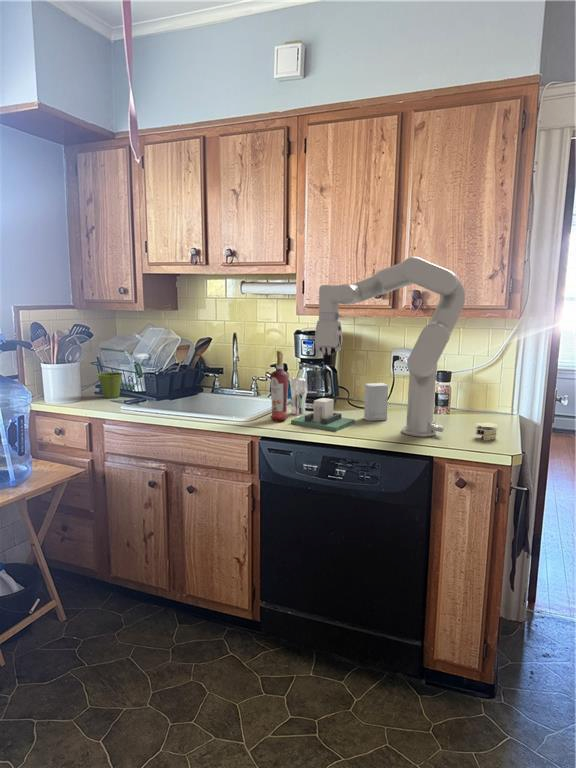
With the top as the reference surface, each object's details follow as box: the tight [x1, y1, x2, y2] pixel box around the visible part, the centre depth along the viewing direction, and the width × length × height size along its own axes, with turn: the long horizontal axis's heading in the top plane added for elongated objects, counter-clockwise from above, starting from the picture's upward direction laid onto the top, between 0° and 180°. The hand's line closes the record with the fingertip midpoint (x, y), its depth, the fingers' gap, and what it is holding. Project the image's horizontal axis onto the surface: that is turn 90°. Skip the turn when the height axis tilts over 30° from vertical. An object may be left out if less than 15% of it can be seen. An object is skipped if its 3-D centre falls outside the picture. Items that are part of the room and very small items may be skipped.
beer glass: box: [290, 377, 308, 416], centre depth 223 cm, size 7×7×15 cm
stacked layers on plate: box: [474, 422, 499, 441], centre depth 190 cm, size 10×9×6 cm
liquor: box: [270, 350, 290, 422], centre depth 210 cm, size 7×7×28 cm
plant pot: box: [96, 371, 124, 399], centre depth 252 cm, size 12×12×11 cm
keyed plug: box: [313, 397, 335, 423], centre depth 207 cm, size 5×9×8 cm, turn 147°
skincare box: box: [363, 382, 389, 422], centre depth 215 cm, size 8×6×15 cm
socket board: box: [290, 412, 356, 432], centre depth 208 cm, size 20×16×4 cm
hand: (327, 364), depth 205 cm, fingers closed
